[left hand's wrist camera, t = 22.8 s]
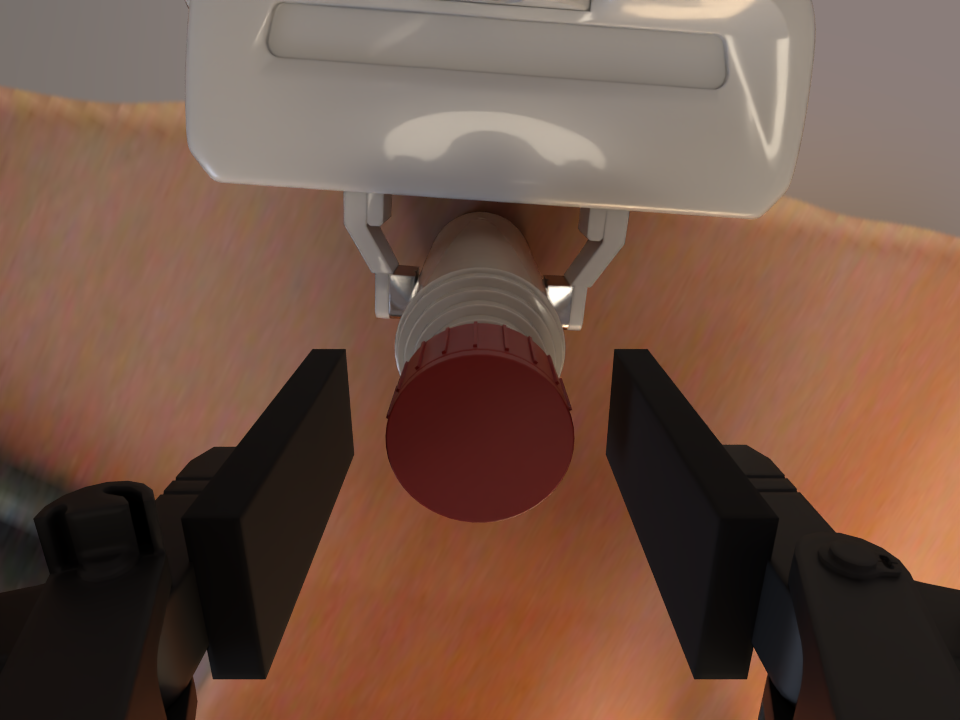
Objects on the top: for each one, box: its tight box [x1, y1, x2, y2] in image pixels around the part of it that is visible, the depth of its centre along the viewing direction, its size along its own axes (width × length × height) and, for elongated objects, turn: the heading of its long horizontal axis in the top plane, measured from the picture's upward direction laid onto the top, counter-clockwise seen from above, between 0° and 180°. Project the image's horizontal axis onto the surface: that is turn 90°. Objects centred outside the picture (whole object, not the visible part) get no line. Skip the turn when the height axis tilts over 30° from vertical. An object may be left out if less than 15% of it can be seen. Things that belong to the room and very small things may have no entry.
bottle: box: [395, 212, 566, 378], centre depth 21 cm, size 5×5×18 cm
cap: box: [386, 321, 574, 523], centre depth 13 cm, size 4×4×2 cm
